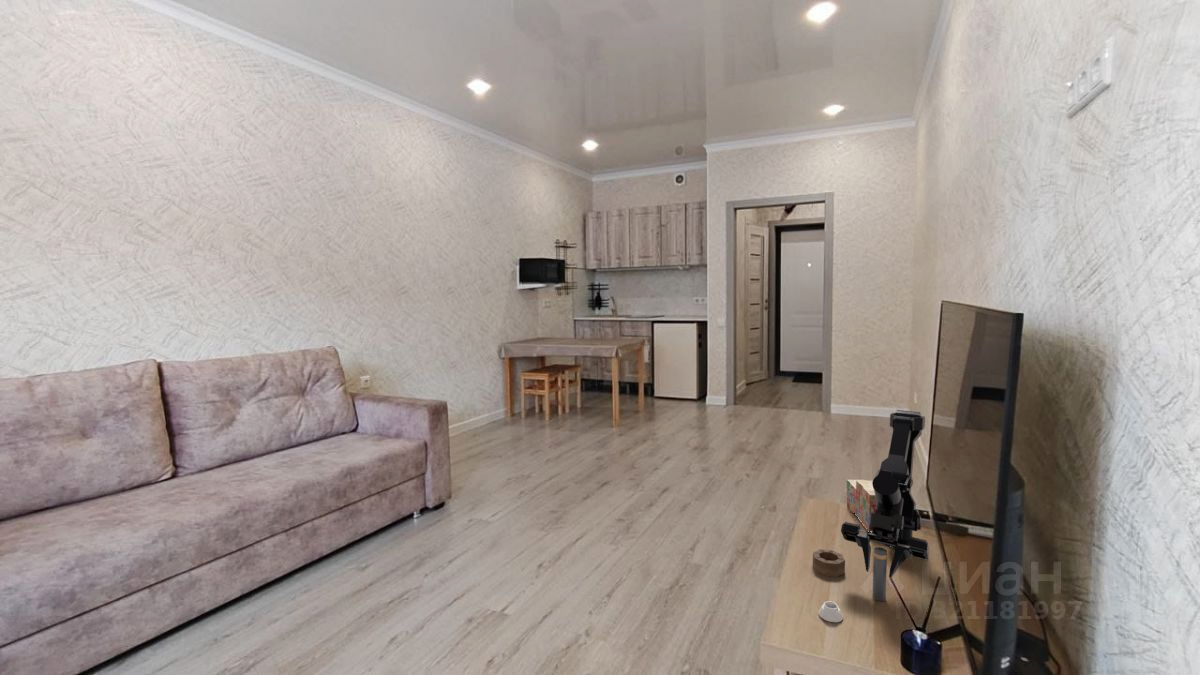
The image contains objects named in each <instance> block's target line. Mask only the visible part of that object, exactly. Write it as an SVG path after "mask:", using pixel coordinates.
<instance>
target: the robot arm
mask: <svg viewBox="0 0 1200 675" xmlns="http://www.w3.org/2000/svg"><path fill="white" fill-rule="evenodd" d="M921 414H922V412H920V411H912V410H902V409H896V411H895V412H892V413H890V414H889V415H890V416H889V427H890V428H892V434H891V440H890V445H889V451H888V456H887V458H885V459H884V460H882V461H881V463H880V468H879V469H877V471H876V473H875V475H874V477H873V479H872V481H873V482H872V485H873V489H874V492H875V496H876V499H877V505H876V511H875V514H874V513H871V518H870V530H872V533H871V532H868V531H867V530H864V529H863V530H862V528H861V524H857V523H852V522H849V521H844V522H843V523H842V525H841V529H840V533H841V534H842V537H843V539H844V540H845V541H848V542H853V543H855V544H857V546H858V547H860V548H861V549H862V554H863V560H864V566H865V571H866V572H868V573H869V570H870V566H871V554H872V553H871V552H872V547H871V546H872V545H871V544H870V543H871V542H875V543H880V544H884V545H885V544H886V545H885V546H887V545H888V547H890V546H891V547H890V548H892V547H893V549H894V553H893V557H892V560H891V565H890V568H889V574H888V577H889V579H892V578H893V576H894V575H895V574H896V572H897V571H898V569H899V568H900V567H901V565H902V564H903V563H905V561H906V560H911V559H912V557H913V558H917V559H921V560H925V561H928V560H929V557H930V547H929V543H928V541H927V540H926V539H922V538H919V537H914V536H913V535H914V534H913V533H914V532H918V530H919V531H920V530H922V518H921V515H920V513H919V510H918V509H917V503H916V501H915V499H914V497H913V495H912V492H911V491H912V487H913V485H914V479H913V467H914V457H915V456H914V455H915V454H914V452H915V444H916V442H917V441H918V439H919V438H920V437H921V436H922V434H923V433H922V431H924V429H925V427H926V416H923V415H921ZM913 531H914V532H913Z"/></svg>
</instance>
